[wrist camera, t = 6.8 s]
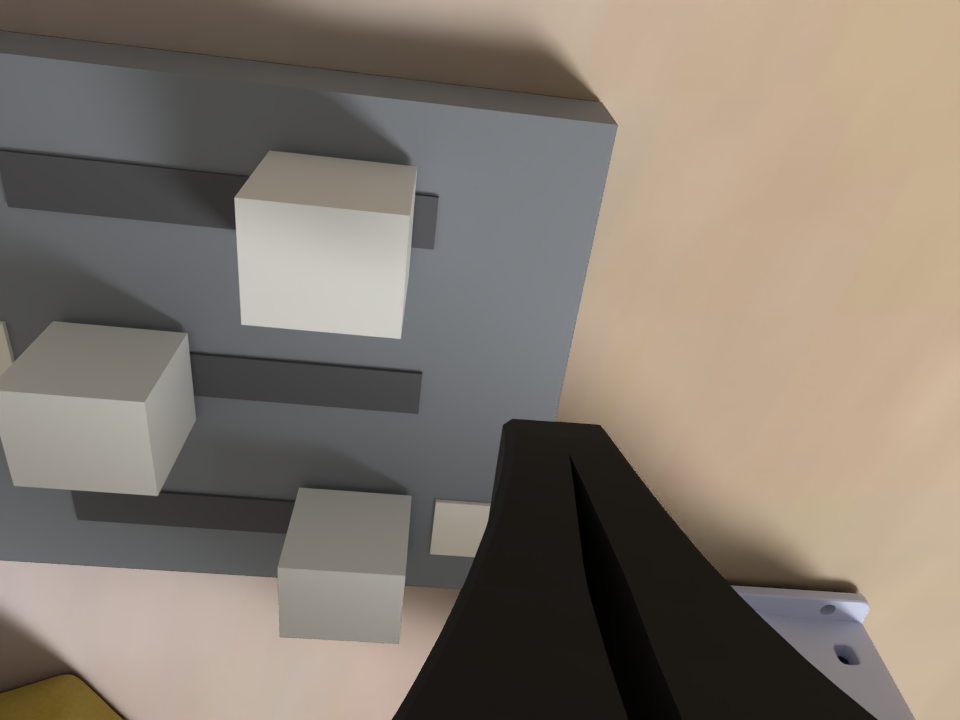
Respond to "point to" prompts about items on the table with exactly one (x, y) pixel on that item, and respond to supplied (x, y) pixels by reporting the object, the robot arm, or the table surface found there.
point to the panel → (277, 351)
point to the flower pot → (55, 701)
